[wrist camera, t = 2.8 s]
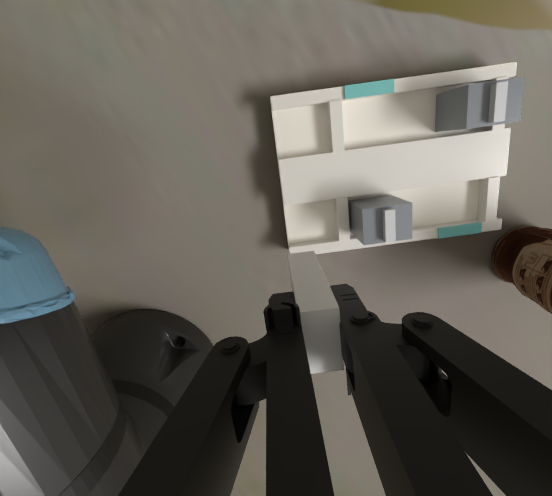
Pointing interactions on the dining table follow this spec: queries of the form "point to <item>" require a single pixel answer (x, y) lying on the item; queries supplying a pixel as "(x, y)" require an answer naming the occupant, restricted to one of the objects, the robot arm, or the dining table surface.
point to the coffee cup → (527, 262)
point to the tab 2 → (480, 105)
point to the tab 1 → (380, 219)
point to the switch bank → (386, 159)
